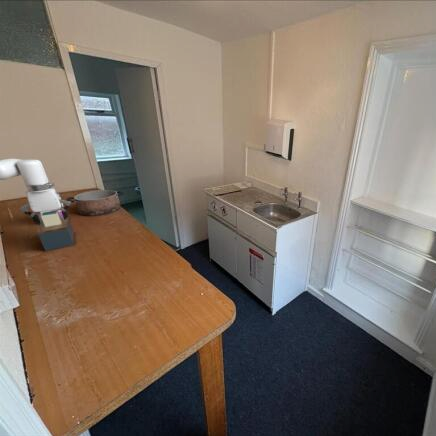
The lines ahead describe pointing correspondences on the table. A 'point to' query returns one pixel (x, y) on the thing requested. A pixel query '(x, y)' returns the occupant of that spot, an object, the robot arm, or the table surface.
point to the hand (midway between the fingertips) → (52, 220)
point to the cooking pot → (97, 202)
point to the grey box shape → (56, 235)
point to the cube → (51, 218)
